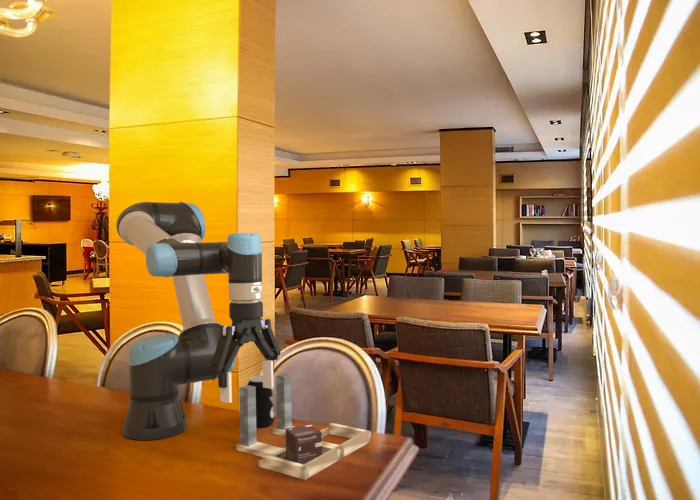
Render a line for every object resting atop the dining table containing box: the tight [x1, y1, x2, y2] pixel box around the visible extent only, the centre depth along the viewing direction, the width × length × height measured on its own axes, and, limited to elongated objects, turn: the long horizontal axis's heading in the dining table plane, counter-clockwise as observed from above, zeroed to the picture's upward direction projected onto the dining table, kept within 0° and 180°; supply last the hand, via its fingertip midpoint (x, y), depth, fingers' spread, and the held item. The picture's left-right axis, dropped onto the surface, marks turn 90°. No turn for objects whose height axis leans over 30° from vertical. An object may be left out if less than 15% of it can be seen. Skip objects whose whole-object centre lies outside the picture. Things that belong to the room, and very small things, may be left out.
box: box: [285, 424, 323, 465], centre depth 122 cm, size 6×6×7 cm
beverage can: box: [246, 375, 275, 429], centre depth 148 cm, size 7×7×12 cm
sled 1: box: [235, 384, 341, 481], centre depth 126 cm, size 23×12×14 cm, turn 56°
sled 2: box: [272, 373, 372, 460], centre depth 136 cm, size 23×12×14 cm, turn 56°
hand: (248, 394), depth 131 cm, fingers open, 13 cm apart
